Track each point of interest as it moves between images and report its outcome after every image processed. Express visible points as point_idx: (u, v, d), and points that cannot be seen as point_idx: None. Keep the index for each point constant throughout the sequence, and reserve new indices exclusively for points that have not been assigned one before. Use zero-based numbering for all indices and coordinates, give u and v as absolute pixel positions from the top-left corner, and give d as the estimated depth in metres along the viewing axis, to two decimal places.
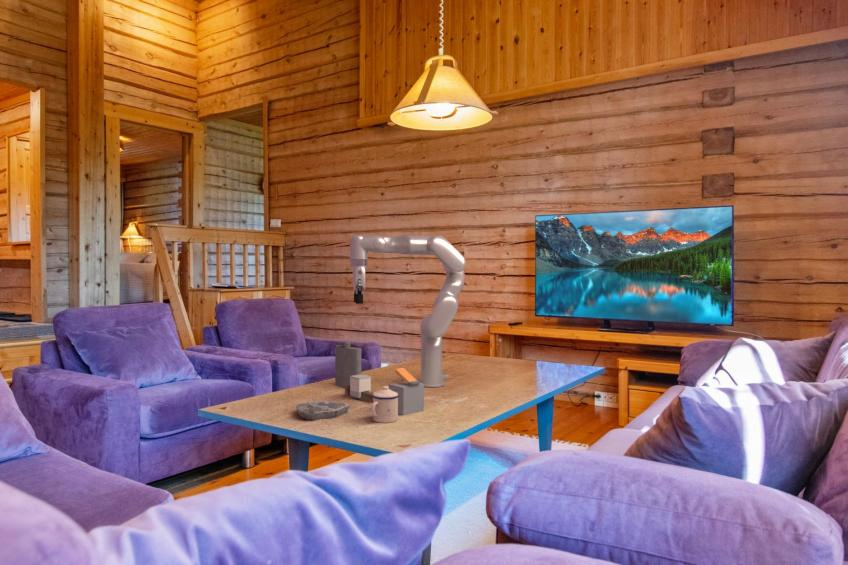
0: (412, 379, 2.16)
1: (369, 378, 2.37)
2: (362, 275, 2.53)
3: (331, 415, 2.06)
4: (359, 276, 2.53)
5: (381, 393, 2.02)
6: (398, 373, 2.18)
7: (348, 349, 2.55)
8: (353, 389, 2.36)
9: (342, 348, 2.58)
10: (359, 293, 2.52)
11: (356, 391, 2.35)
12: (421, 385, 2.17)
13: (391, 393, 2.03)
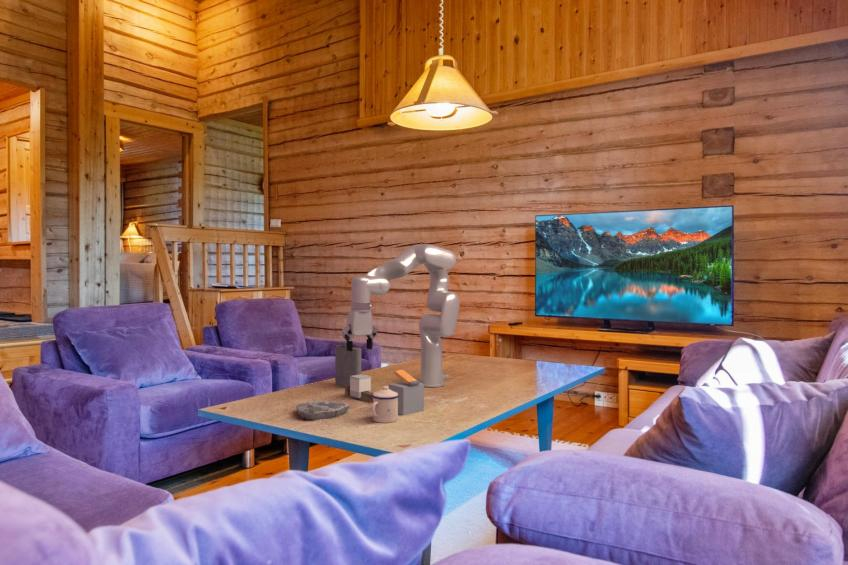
0: (412, 379, 2.16)
1: (369, 378, 2.37)
2: None
3: (331, 415, 2.06)
4: None
5: (381, 393, 2.02)
6: (397, 374, 2.18)
7: None
8: (353, 389, 2.36)
9: (342, 348, 2.58)
10: None
11: (356, 391, 2.35)
12: (421, 385, 2.17)
13: (391, 393, 2.03)
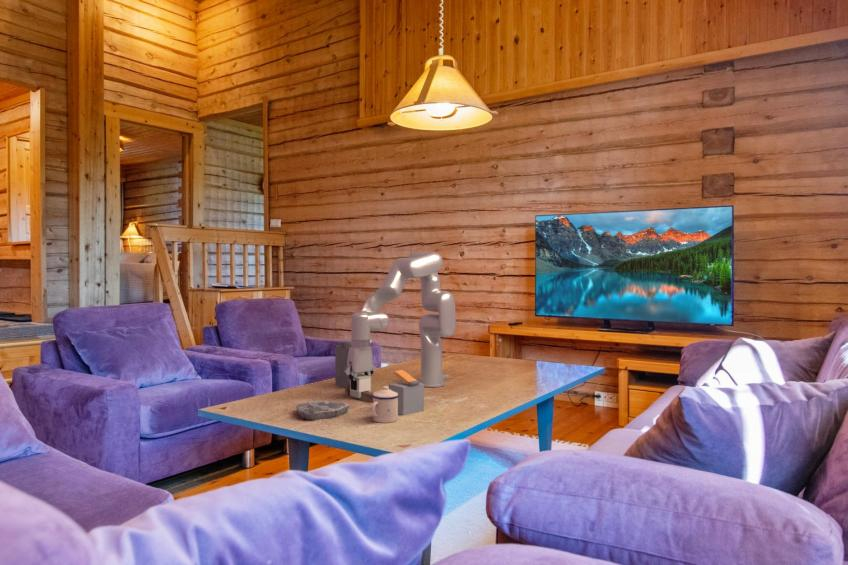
0: (412, 379, 2.16)
1: (369, 378, 2.37)
2: None
3: (331, 415, 2.06)
4: None
5: (381, 393, 2.02)
6: (397, 375, 2.18)
7: (348, 349, 2.55)
8: None
9: (342, 348, 2.58)
10: None
11: (356, 391, 2.35)
12: (421, 385, 2.17)
13: (391, 393, 2.03)
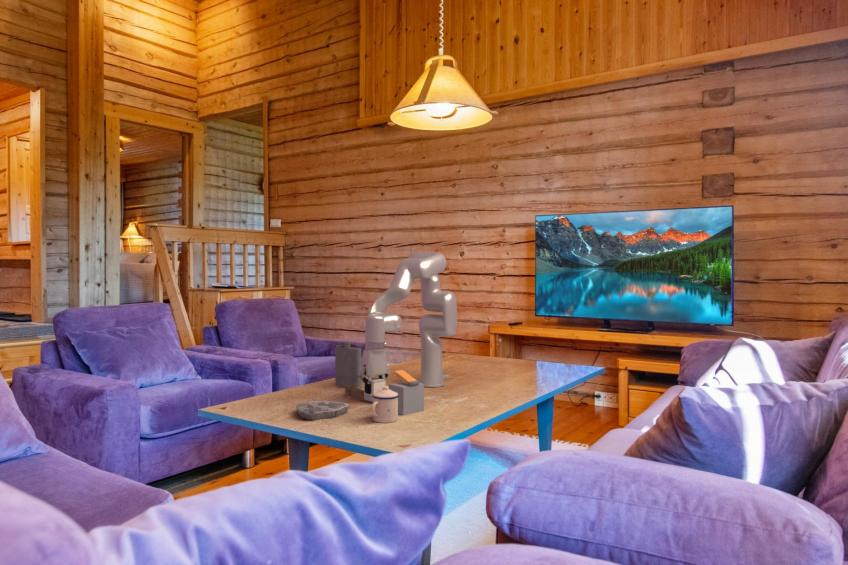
0: (412, 379, 2.16)
1: (384, 381, 2.30)
2: None
3: (331, 415, 2.06)
4: None
5: (381, 393, 2.02)
6: (397, 375, 2.18)
7: (348, 349, 2.55)
8: None
9: (342, 348, 2.58)
10: None
11: (370, 395, 2.28)
12: (421, 385, 2.17)
13: (391, 393, 2.03)
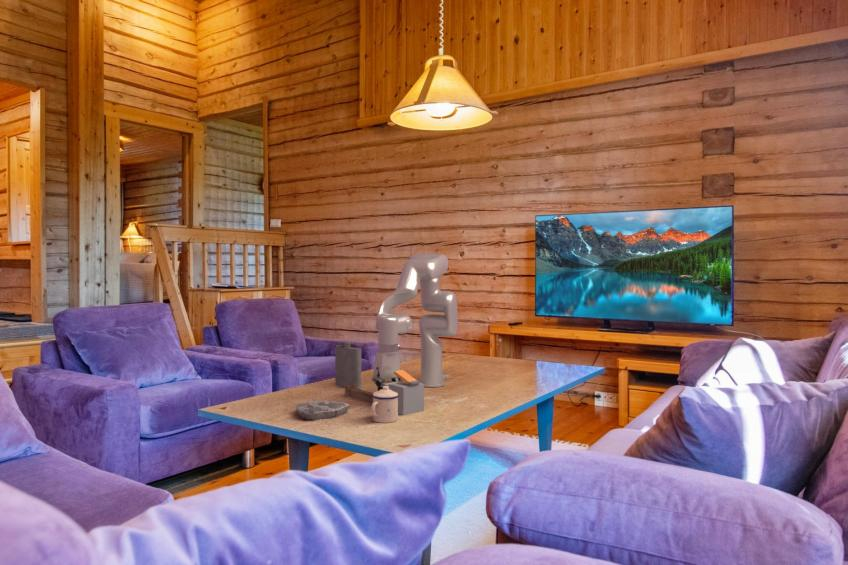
0: (412, 379, 2.16)
1: None
2: None
3: (331, 415, 2.06)
4: None
5: (381, 393, 2.02)
6: (397, 375, 2.18)
7: (348, 349, 2.55)
8: None
9: (342, 348, 2.58)
10: None
11: None
12: (421, 385, 2.17)
13: (391, 393, 2.03)
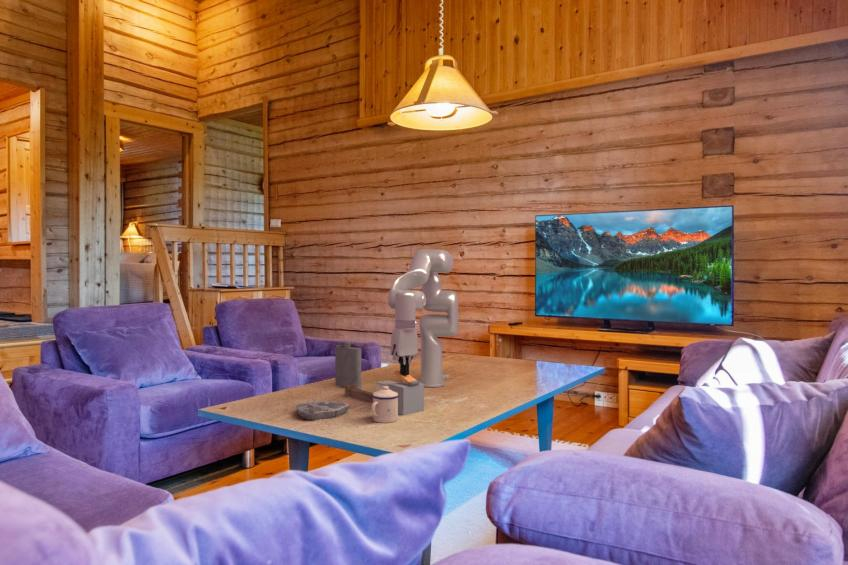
0: (412, 379, 2.16)
1: None
2: None
3: (331, 415, 2.06)
4: None
5: (381, 393, 2.02)
6: (397, 375, 2.18)
7: (348, 349, 2.55)
8: None
9: (342, 348, 2.58)
10: None
11: None
12: (421, 385, 2.17)
13: (391, 393, 2.03)
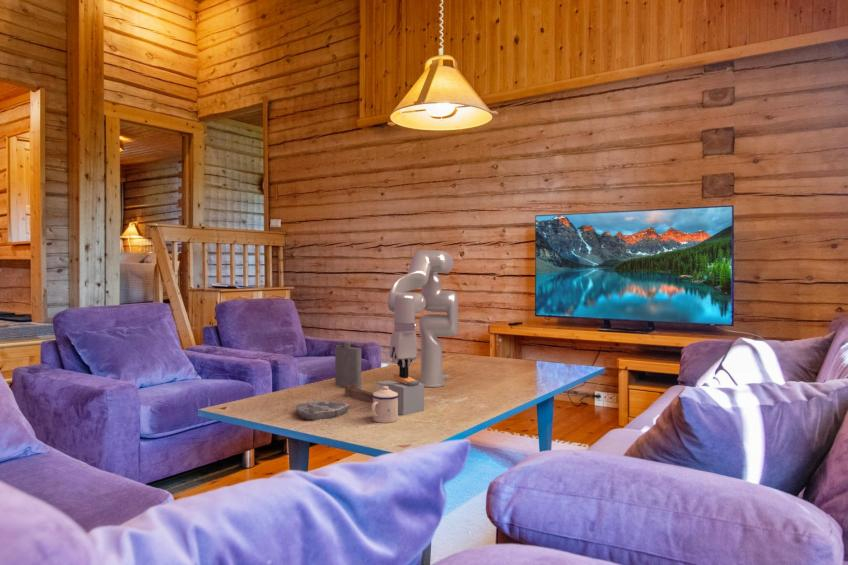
0: (411, 380, 2.16)
1: None
2: None
3: (331, 415, 2.06)
4: None
5: (381, 393, 2.02)
6: (397, 377, 2.18)
7: (348, 349, 2.55)
8: None
9: (342, 348, 2.58)
10: None
11: None
12: (421, 385, 2.17)
13: (391, 393, 2.03)
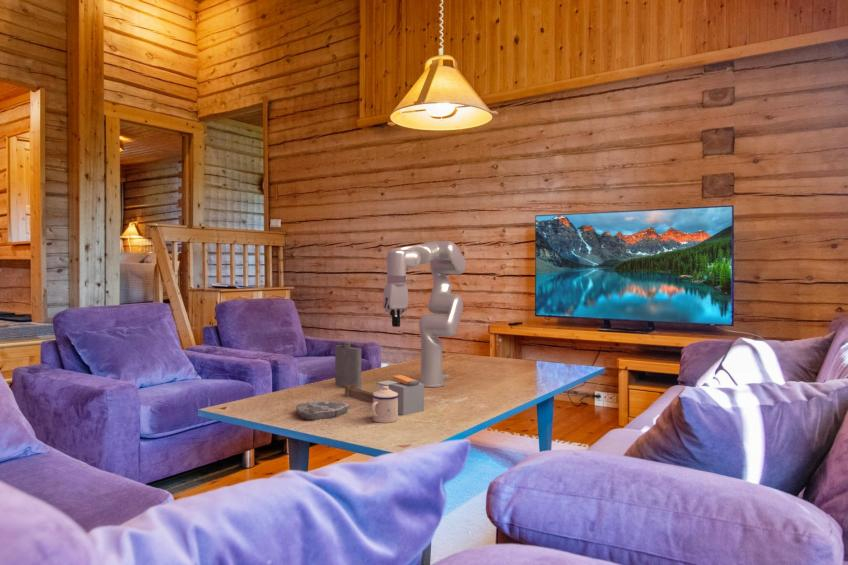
0: (411, 380, 2.16)
1: None
2: None
3: (331, 415, 2.06)
4: None
5: (381, 393, 2.02)
6: (396, 378, 2.18)
7: (348, 349, 2.55)
8: None
9: (342, 348, 2.58)
10: None
11: None
12: (421, 385, 2.17)
13: (391, 393, 2.03)
